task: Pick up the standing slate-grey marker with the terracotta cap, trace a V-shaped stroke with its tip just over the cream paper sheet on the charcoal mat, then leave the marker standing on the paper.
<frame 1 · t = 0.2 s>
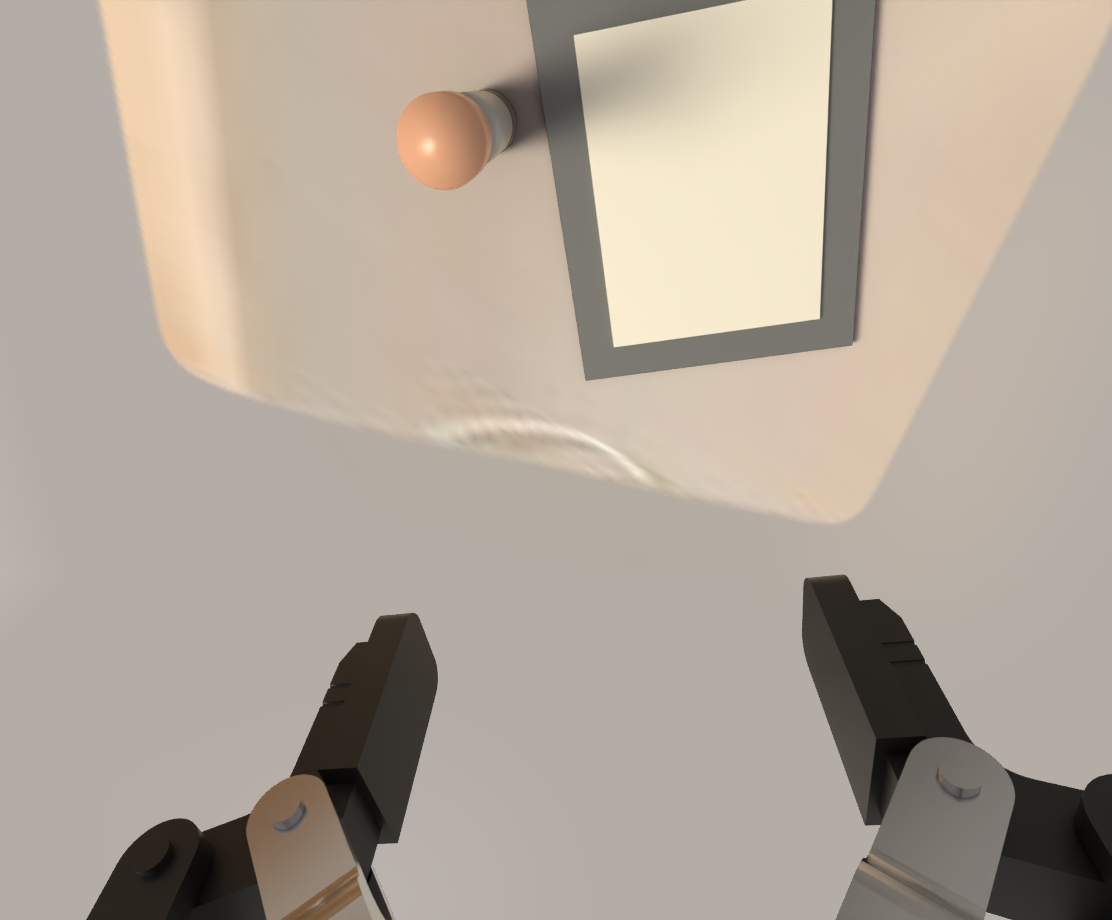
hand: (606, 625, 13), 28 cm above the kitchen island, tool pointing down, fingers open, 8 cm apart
marker: (488, 122, 34), on the kitchen island
writing mat: (706, 188, 35), on the kitchen island
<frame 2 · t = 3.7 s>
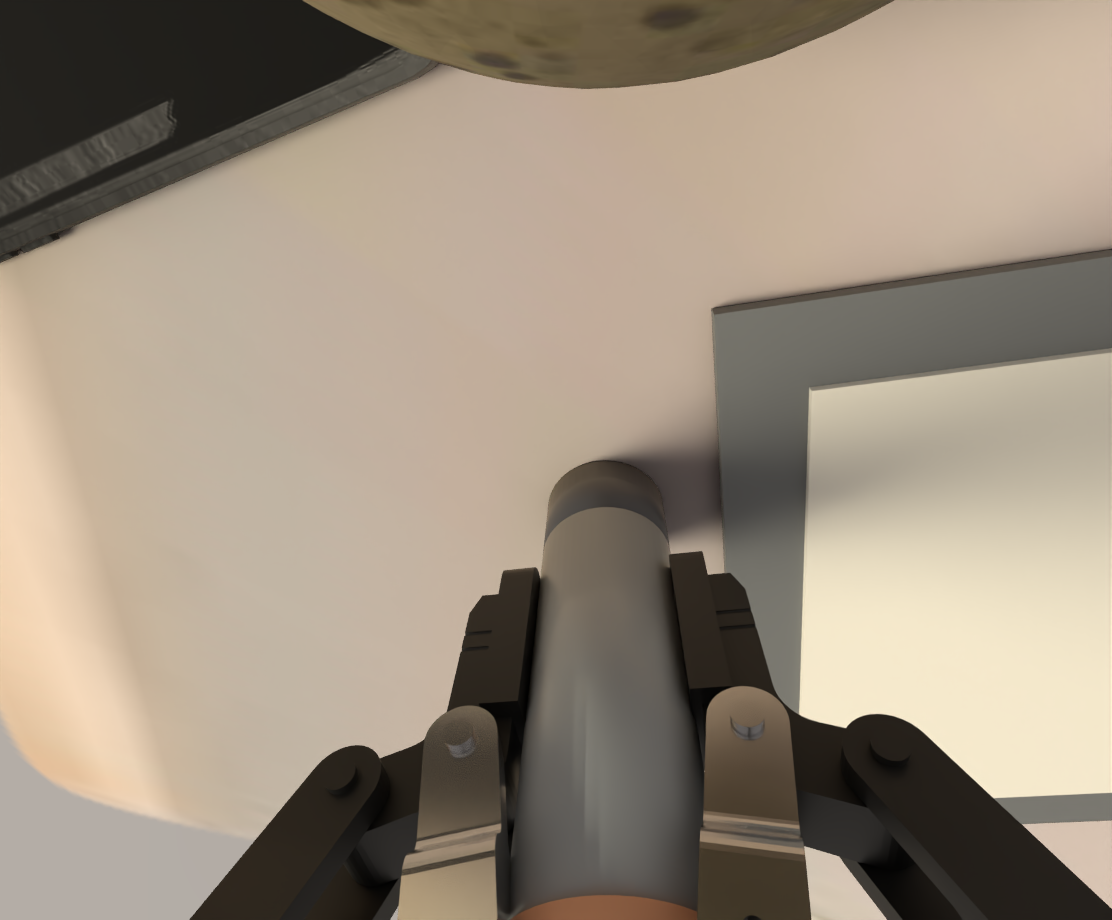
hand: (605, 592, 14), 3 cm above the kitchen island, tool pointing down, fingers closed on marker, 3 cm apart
marker: (605, 509, 17), on the kitchen island, touching gripper
writing mat: (1019, 611, 18), on the kitchen island
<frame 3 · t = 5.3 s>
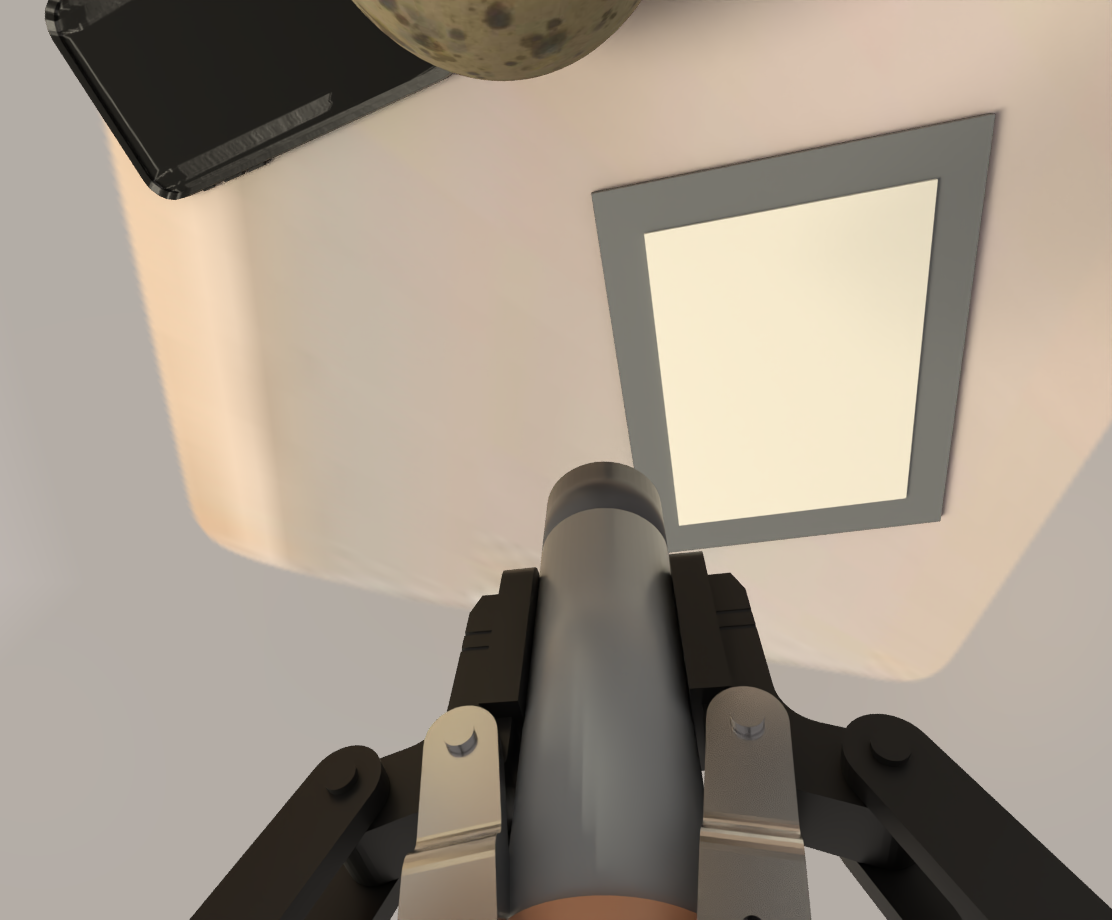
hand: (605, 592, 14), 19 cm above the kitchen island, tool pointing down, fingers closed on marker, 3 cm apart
marker: (603, 510, 17), point 16 cm above the kitchen island, touching gripper
phone: (266, 40, 26), on the kitchen island
writing mat: (785, 374, 32), on the kitchen island
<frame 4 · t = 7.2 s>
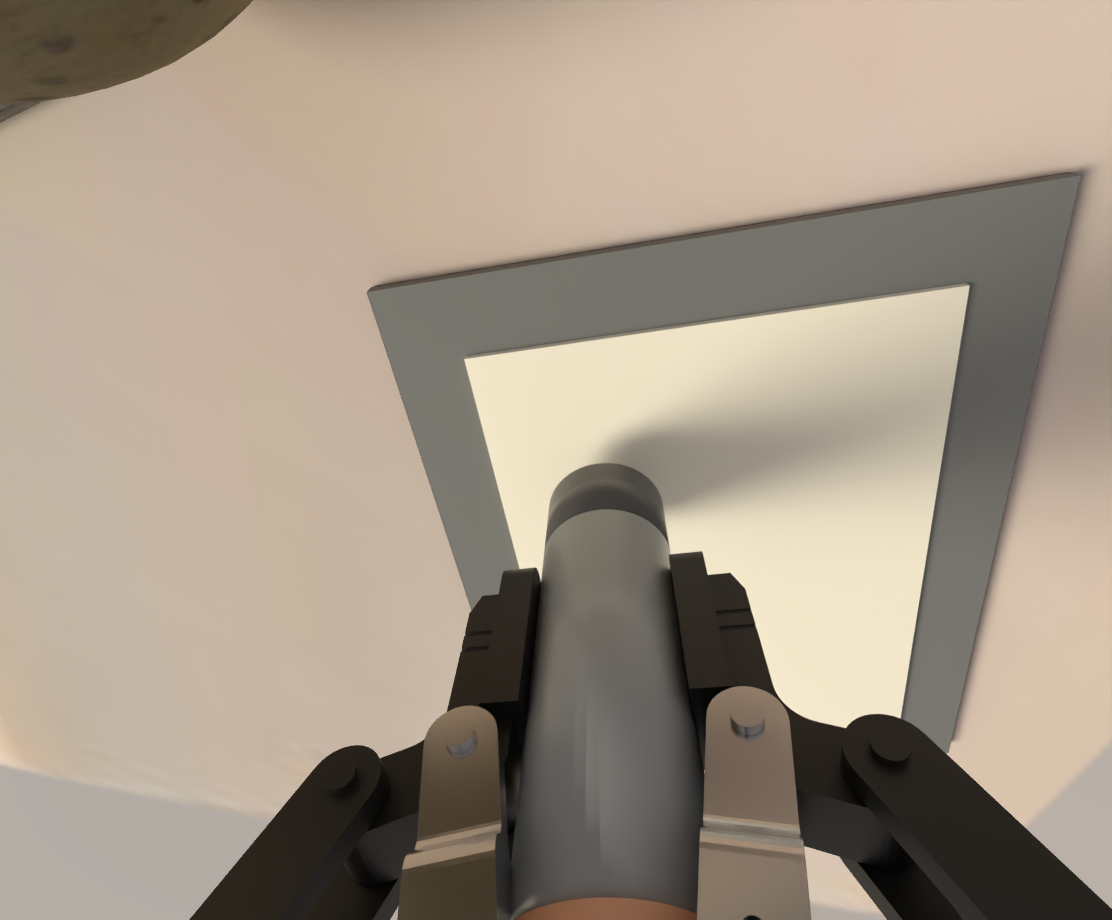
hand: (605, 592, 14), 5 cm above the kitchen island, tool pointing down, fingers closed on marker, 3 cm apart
marker: (605, 511, 17), point 2 cm above the kitchen island, touching gripper
writing mat: (714, 560, 20), on the kitchen island
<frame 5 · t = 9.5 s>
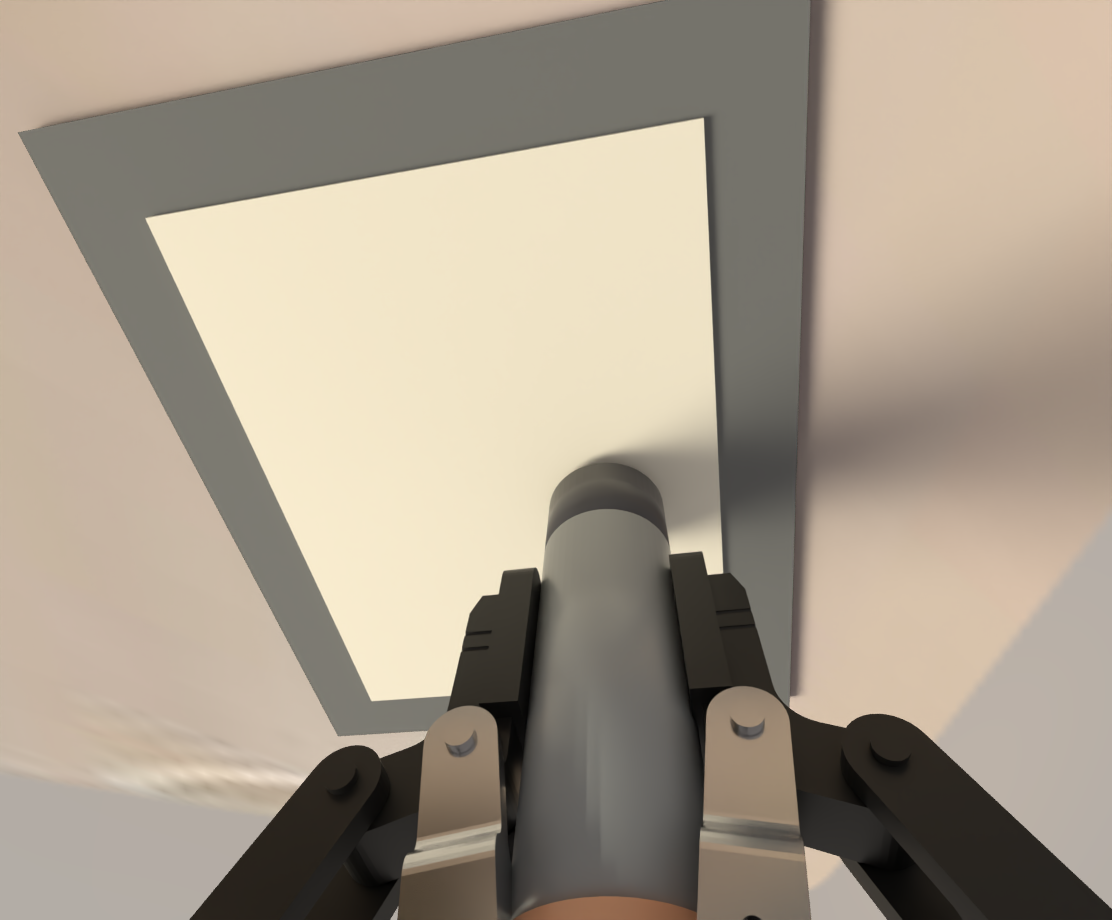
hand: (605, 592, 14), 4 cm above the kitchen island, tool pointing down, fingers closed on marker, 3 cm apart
marker: (606, 511, 17), point 1 cm above the kitchen island, touching gripper
writing mat: (494, 478, 18), on the kitchen island
when the fingers open (4 cm above the kitchen island, at t = 11.2 s): marker stays where it is, resting on writing mat.
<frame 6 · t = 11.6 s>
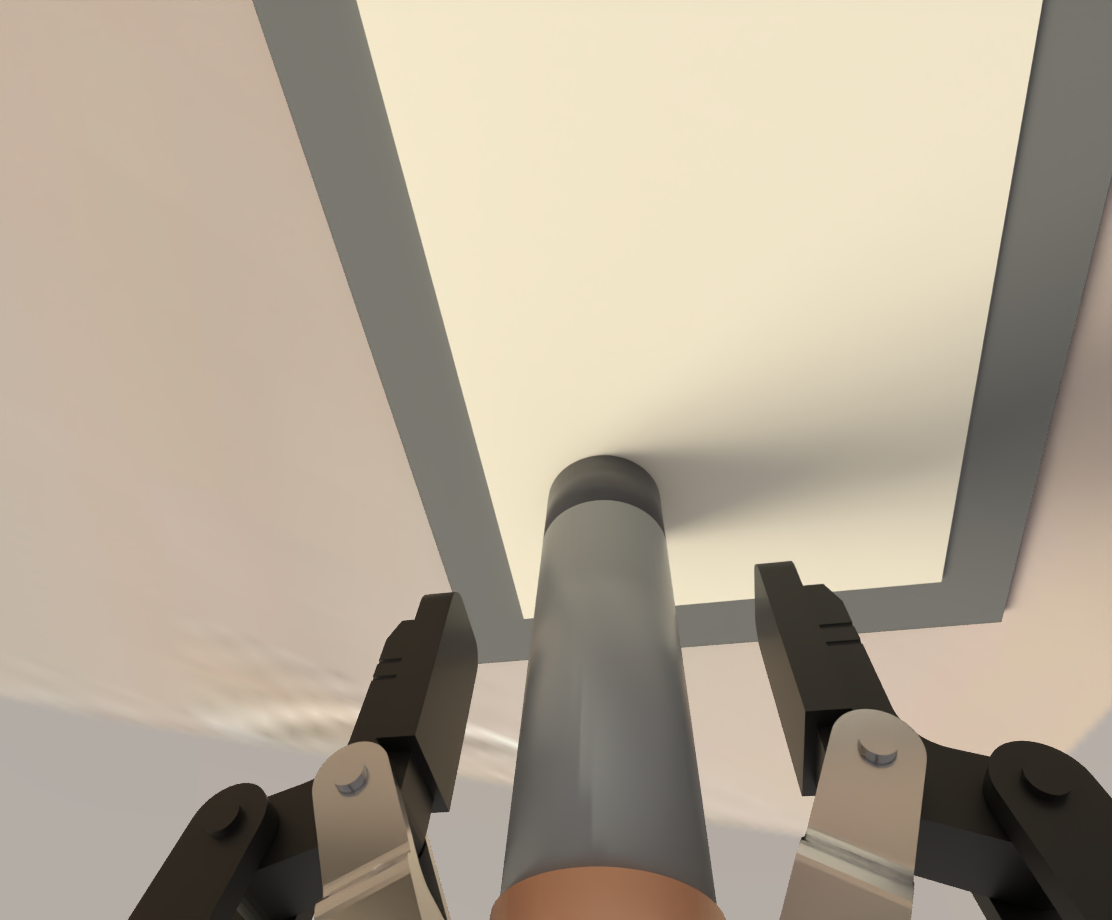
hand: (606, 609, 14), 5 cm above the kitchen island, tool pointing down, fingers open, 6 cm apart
marker: (603, 503, 17), point 1 cm above the kitchen island, touching writing mat
writing mat: (706, 336, 15), on the kitchen island
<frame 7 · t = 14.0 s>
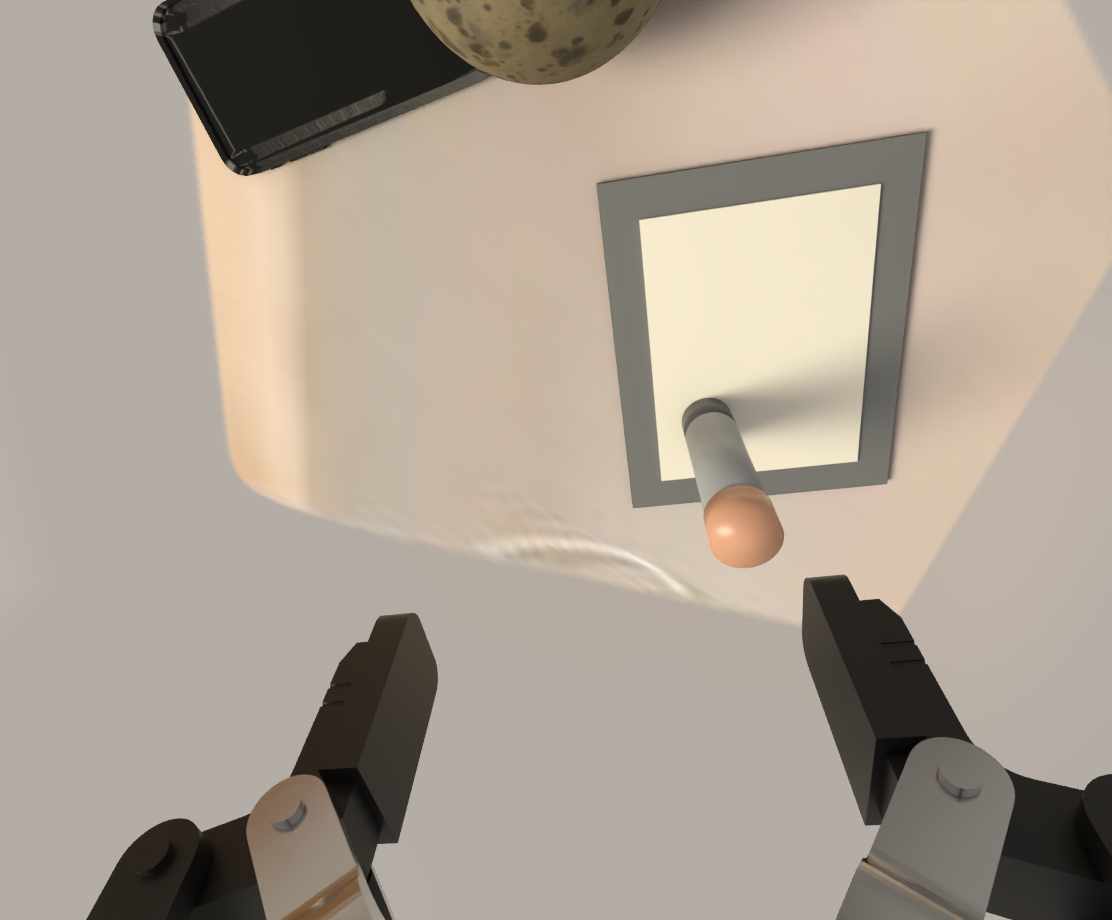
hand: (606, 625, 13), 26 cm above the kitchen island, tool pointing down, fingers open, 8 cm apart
marker: (706, 420, 39), point 1 cm above the kitchen island, touching writing mat
phone: (332, 45, 31), on the kitchen island
writing mat: (755, 347, 37), on the kitchen island
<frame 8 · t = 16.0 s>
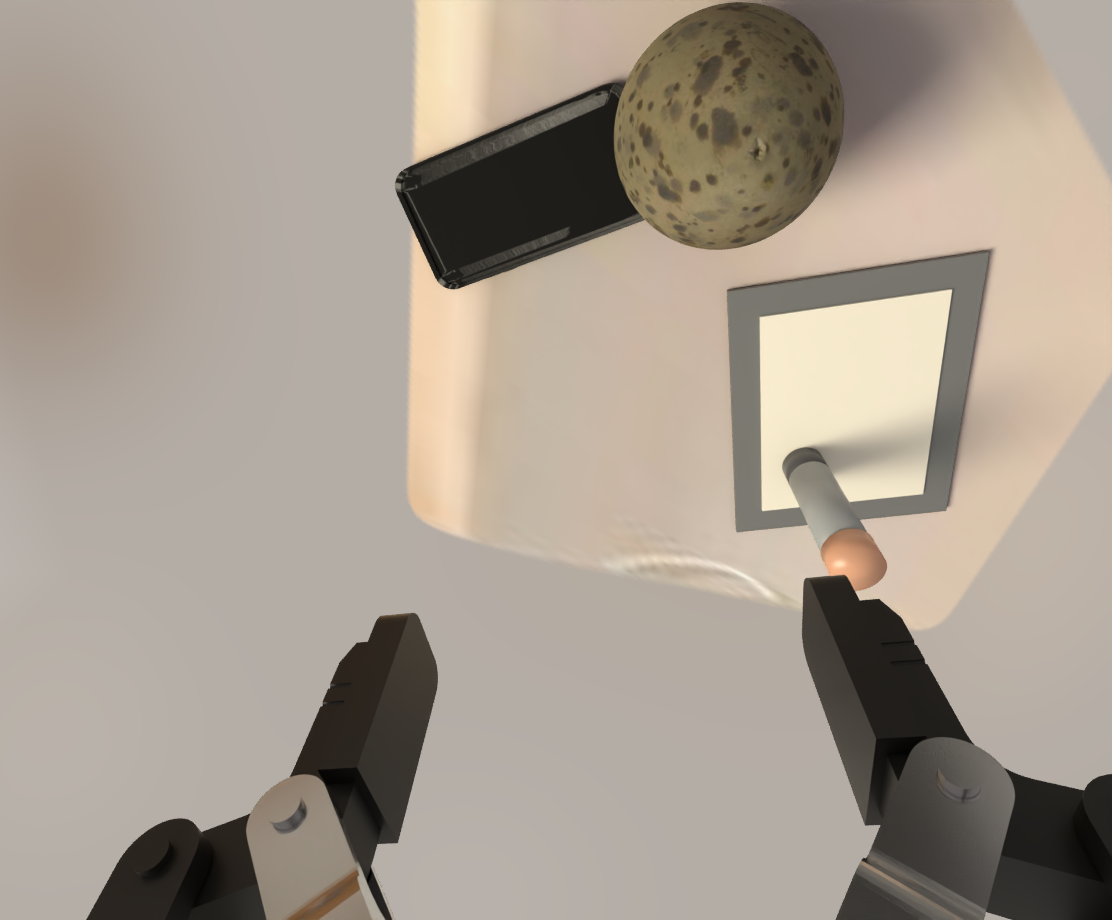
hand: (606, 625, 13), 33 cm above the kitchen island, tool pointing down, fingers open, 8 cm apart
decorative egg: (702, 125, 38), on the kitchen island
marker: (802, 464, 49), point 1 cm above the kitchen island, touching writing mat
phone: (527, 192, 41), on the kitchen island
writing mat: (844, 408, 47), on the kitchen island
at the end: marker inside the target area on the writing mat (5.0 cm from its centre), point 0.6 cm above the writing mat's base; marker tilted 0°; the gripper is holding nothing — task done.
